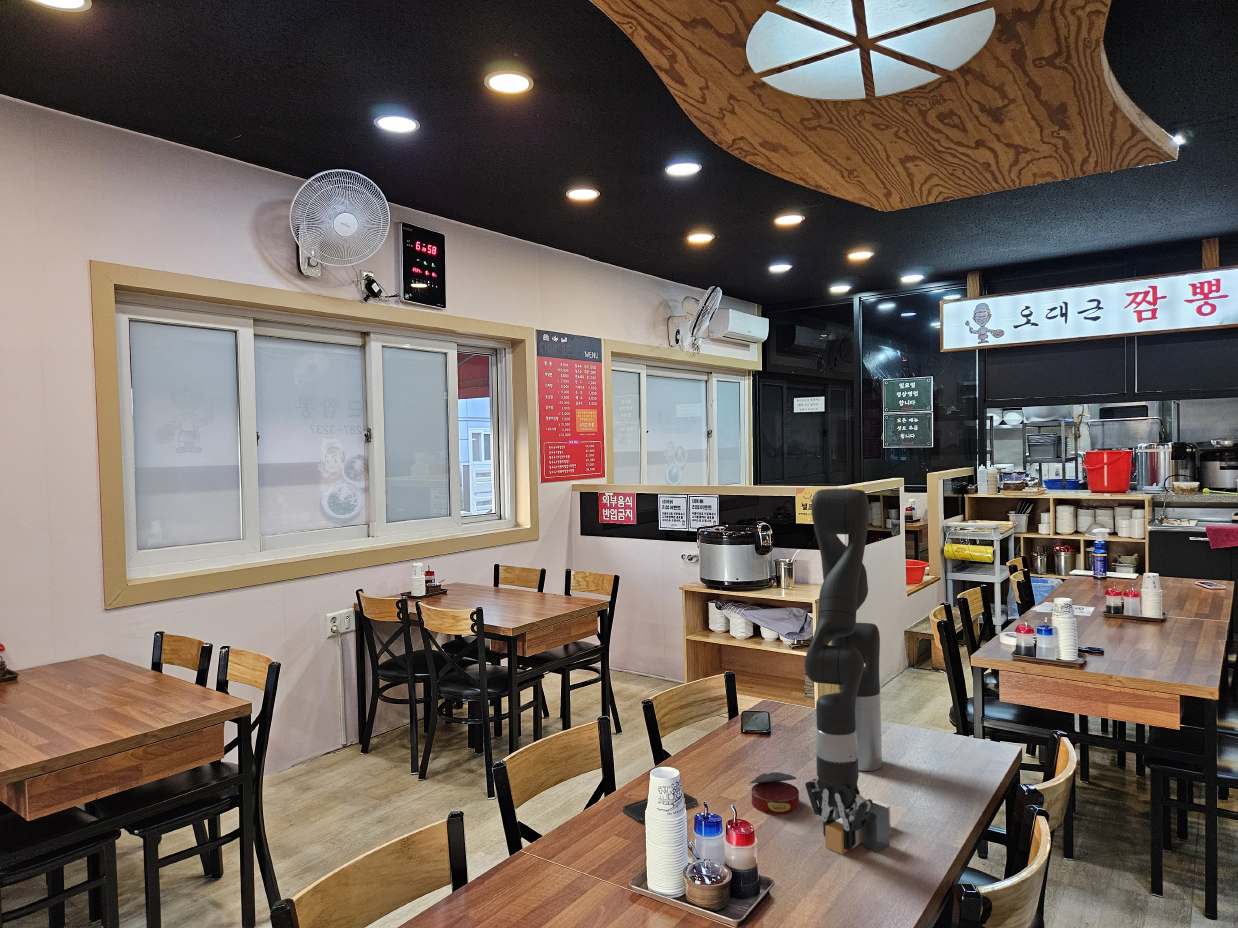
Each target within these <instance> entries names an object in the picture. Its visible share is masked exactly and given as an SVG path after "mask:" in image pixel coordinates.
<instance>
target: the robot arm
mask: <svg viewBox="0 0 1238 928" xmlns="http://www.w3.org/2000/svg"><path fill="white" fill-rule="evenodd" d="M868 498H869V497H868V495H867V493H866V492H865V491H864V490H863V489H855V488H853V489H852V488H851V489H850V488H849V489H848V488H826V489H818V490H817V491H815V492H814V494H813V496H812V500H811V517H812V523H813V528H814V532H815V535H816V536H815V537H816V540H817V544H818V548H819V551H820V552H819V553H820V559H821V569H822V577H823V578H822V579H823V582H822V585H821V588H820V591H819V598H818V599H819V600H818V612H817V613H818V614H817V622H816V626H815V631H814V633H813V637H812V640H811V642H810V644H809V647H808V649H807V651H806V655H805V658H804V671H805V673H806V676H807V678H808V680H810V681H811V682H813V683H816V684H827V685H837V686H838V690H839V691H838V692H836V693H835V692H833V693H827V694H823V695H821V696H819V697H818V698H817V700H816V704H815V705H816V706H815V709H816V710H815V711H816V712H815V713H816V734H815V750H816V751H815V752H816V753H815V756H816V760H815V761H816V776H817V778H814V779H810V780H809V781H807V782H805V785H804V786H805V788H806V792H807V794H808V795H807V796H808V798H809V801H810V805H811V808H812V811H813V814H814V815H816V816H818V815H819V816H820V819H821V820H822V826H823V827H822V828H823V837H824V838H825V839H824V840H825V841H826V837H825V826H826V825H829V824H831V823H833V822H834V821H835V819H833V817H834V815H835V809H836V808H838V810H839V815H840V817H841V818H842V821H843V826H844V829H843V833H844V849H846V850H848V851H850V850H852V849H854V848H853V846H855V844H856V838H855V837H856V836H855V831H857V830H859V829H860V828H863V827H864V826H865V825H866V822H867V819H868V817H869V814H870V811H871V808H872V806H873V802H872V801H873V800H872V799H870V798H868V799H866V798H865V797H863V796H862V795H861V794H860V790H859V786H858V782H859V777H860V775H859V771H860V772H861V771H862V772H870V771H876V770H879V769H880V768H881V767H882V766H883V760H882V759H883V755H882V718H881V717H882V714H881V713H882V711H881V683H880V656H881V655H880V654H881V653H880V651H881V637H880V634H881V633H880V629H879V628H878V626H877V624H875V623H870V622H869V623H868V622H857V611H858V610H859V609H860V608H861V606H862V605H863V604H864V603H865V601H866V599H867V597H868V594H869V583H868V574H867V573H868V572H867V570H866V567H865V565H864V555H865V548H866V543H867V538H868V537H867V536H868V531H869V521H870V503H869V499H868ZM838 535H849V540H848V543H847V545H846V544H845V543H844V542H843V541H842V540H841V539H840V538H839V536H838ZM830 643H831V645H830ZM855 801H856V802H857V807H856V808H857V809H858V810H857V813H856V808H855ZM846 809H847V810H846ZM855 813H856V816H855ZM855 847H856V846H855ZM851 848H852V849H851ZM849 849H850V850H849Z"/></svg>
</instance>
